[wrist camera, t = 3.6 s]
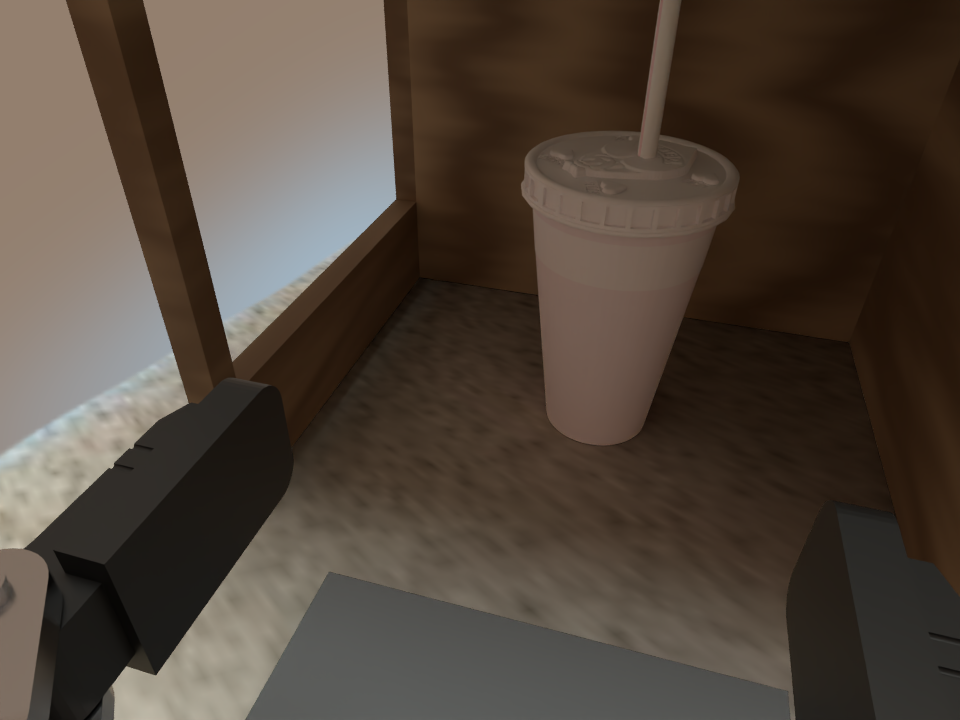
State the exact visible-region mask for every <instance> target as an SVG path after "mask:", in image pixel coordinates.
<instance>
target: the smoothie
mask: <svg viewBox="0 0 960 720" xmlns="http://www.w3.org/2000/svg"><path fill="white" fill-rule="evenodd" d="M680 7H681V0H660V3H659V10H658V17H657V24H656V31H655V37H654V44H653V51H652V58H651V65H650V72H649V78H648V85H647V92H646V99H645V106H644V113H643V120H642V126H641V132H634V131H591V132H580V133H574V134H567V135H563V136H559V137H555V138H552V139H549V140H547V141H544V142H542V143H540V144H539V145H537V146H536V147H534V148H533V149H531V150H530V151H529V153H528V154H527V155H526V157H525V173H524V180H523V182H522V183H521V189H522V196H523V197H524V199H525V200H526V201H527V202H528V204H529V205H530V206H531V207H532V208H533V223H534V243H535V253H536V267H537V282H538V296H539V311H540V325H541V340H542V354H543V369H544V383H545V398H546V412H547V416H548V419H549V421H550V422H551V424H552V425H553V426H554V427H555V428H556V429H557V430H558V431H559V432H560V433H562V434H563V435H565V436H567V437H569V438H571V439H573V440H575V441H578V442H581V443H585V444H591V445H614V444H619V443H622V442H625V441H628V440H630V439H631V438H633V437H634V436H636V435H637V434H638V433H639V432H640V430H641V429H642V427H643V425H644V422H645V419H646V417H647V414H648V411H649V409H650V406H651V403H652V400H653V398H654V395H655V392H656V390H657V387H658V384H659V381H660V379H661V376H662V373H663V371H664V368H665V365H666V363H667V360H668V357H669V354H670V352H671V349H672V346H673V344H674V341H675V338H676V335H677V333H678V330H679V327H680V325H681V322H682V319H683V317H684V314H685V311H686V308H687V306H688V303H689V300H690V298H691V295H692V292H693V290H694V287H695V284H696V281H697V279H698V276H699V273H700V271H701V268H702V266H703V264H704V261H705V258H706V255H707V252H708V249H709V246H710V244H711V241H712V238H713V235H714V232H715V229H716V226H717V225H719V224H720V223H722V222H724V221H726V220H727V219H728V218H729V216H730V215H731V213H732V212H733V211H734V209H735V196H736V191H737V187H738V183H739V178H740V177H739V172H738V170H737V169H736V167H735V166H734V164H733V163H732V162H730V161H729V160H728V159H727V158H726V157H724V156H723V155H721V154H719V153H718V152H716V151H714V150H712V149H709V148H707V147H705V146H702V145H700V144H696V143H693V142H690V141H687V140H683V139H679V138H674V137H670V136H665V135H660V130H661V124H662V118H663V111H664V105H665V99H666V93H667V87H668V81H669V74H670V68H671V62H672V56H673V50H674V44H675V37H676V31H677V25H678V19H679V13H680Z"/></svg>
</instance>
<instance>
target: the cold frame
mask: <svg viewBox="0 0 960 720" xmlns="http://www.w3.org/2000/svg"><path fill="white" fill-rule="evenodd" d="M66 2H67V5H68V8H69V12H70V15H71V18H72V21H73V25H74V28H75V31H76V34H77V38H78V41H79V44H80V48H81V51H82V54H83V57H84V61H85V64H86V67H87V71H88V74H89V77H90V81H91V84H92V87H93V90H94V94H95V97H96V100H97V103H98V107H99V110H100V113H101V116H102V120H103V123H104V126H105V129H106V133H107V136H108V140H109V143H110V146H111V149H112V153H113V156H114V159H115V162H116V166H117V169H118V172H119V175H120V179H121V182H122V185H123V189H124V192H125V195H126V199H127V201H128V205H129V208H130V212H131V215H132V218H133V221H134V224H135V228H136V231H137V234H138V238H139V241H140V244H141V248H142V251H143V254H144V258H145V261H146V264H147V267H148V271H149V274H150V277H151V280H152V283H153V287H154V290H155V293H156V296H157V300H158V303H159V307H160V310H161V313H162V317H163V320H164V323H165V326H166V330H167V333H168V336H169V339H170V342H171V346H172V349H173V353H174V356H175V359H176V362H177V366H178V369H179V372H180V376H181V379H182V382H183V385H184V389H185V392H186V395H187V398H188V402H189V403H191V402H192V403H196V404H199V403H200V402H201V401H202V400H203V399H204V398H205V397H206V396H207V395H208V394H209V393H210V392H211V391H212V390H213V389H214V388H215V387H216V386H217V385H218V384H219V383H220V382H221V381H222V380H224V379H226V378H237V379H242V380H247V381H252V382H257V383H262V384H267V385H272V386H275V387H276V388H277V389H278V390H279V391H280V394H281V397H282V402H283V407H284V412H285V417H286V423H287V428H288V433H289V438H290V444H291V448H292V446H293V445H294V444H295V442H296V441H297V440H298V438H299V437H300V436H301V434H302V433H303V432H304V430H305V429H306V428H307V426H308V425H309V424H310V422H311V421H312V420H313V418H314V417H315V416H316V414H317V413H318V412H319V410H320V409H321V408H322V406H323V405H324V404H325V402H326V401H327V400H328V398H329V397H330V396H331V394H332V393H333V392H334V390H335V389H336V388H337V387H338V385H339V384H340V383H341V381H342V380H343V379H344V377H345V376H346V375H347V373H348V372H349V371H350V369H351V368H352V367H353V365H354V364H355V363H356V361H357V360H358V359H359V357H360V356H361V355H362V353H363V352H364V351H365V349H366V348H367V347H368V345H369V344H370V343H371V341H372V340H373V339H374V337H375V336H376V335H377V333H378V332H379V331H380V329H381V328H382V327H383V325H384V324H385V323H386V321H387V320H388V319H389V317H390V316H391V315H392V313H393V312H394V311H395V309H396V308H397V307H398V305H399V304H400V303H401V301H402V300H403V299H404V297H405V296H406V295H407V294H408V292H409V291H410V290H411V288H412V287H413V286H414V284H415V283H416V282H417V280H418V279H419V278H420V277H422V278H429V279H435V280H442V281H449V282H455V283H462V284H468V285H475V286H481V287H488V288H495V289H501V290H508V291H514V292H521V293H528V294H534V295H538V282H537V267H536V253H535V243H534V223H533V208H532V207H531V206H530V205H529V204H528V202H527V201H526V200H525V199H524V197H523V196H522V189H521V183H522V182H523V180H524V173H525V157H526V155H527V154H528V153H529V151H530V150H531V149H533V148H534V147H536V146H537V145H539V144H540V143H542V142H544V141H547V140H549V139H552V138H555V137H559V136H563V135H567V134H574V133H580V132H591V131H634V132H641V126H642V120H643V113H644V106H645V99H646V92H647V85H648V78H649V72H650V65H651V58H652V51H653V44H654V37H655V31H656V24H657V17H658V10H659V3H660V0H384V13H385V29H386V44H387V60H388V75H389V91H390V106H391V122H392V138H393V153H394V169H395V185H396V200H395V201H394V202H393V203H392V204H391V205H390V206H389V207H388V208H387V209H386V210H385V211H384V212H383V213H382V214H381V215H380V216H379V217H378V218H377V219H376V220H375V221H374V222H373V223H372V224H371V225H370V226H369V227H368V228H367V229H366V230H365V231H364V232H363V233H362V234H361V235H360V236H359V237H358V238H357V239H356V240H355V241H354V242H353V243H352V244H351V245H350V246H349V247H348V248H347V249H346V250H345V251H344V252H343V253H342V254H341V255H340V256H339V257H338V258H337V259H336V260H335V261H334V262H333V263H332V264H331V265H330V266H329V267H328V268H327V269H326V270H325V271H324V272H323V273H322V274H321V275H320V276H319V277H318V278H317V279H316V280H315V281H314V282H313V283H312V284H311V285H310V286H309V287H308V288H307V289H306V290H305V291H304V292H303V293H302V294H301V295H300V296H299V297H298V298H297V299H296V300H295V301H294V302H293V303H292V304H291V305H290V306H289V307H288V308H287V309H286V310H285V311H284V312H283V313H282V314H281V315H280V316H279V317H277V318H276V319H275V320H274V321H273V322H272V323H271V324H270V325H269V326H268V327H267V328H266V329H265V330H264V331H263V332H262V333H261V334H260V335H259V336H258V337H257V338H256V339H255V340H254V341H253V342H252V343H251V344H250V345H249V346H248V347H247V348H246V349H245V350H244V351H243V352H242V353H241V354H240V355H239V356H238V357H237V358H236V359H235V360H234V361H233V362H232V360H231V355H230V351H229V347H228V343H227V339H226V335H225V331H224V327H223V323H222V319H221V315H220V312H219V307H218V303H217V299H216V295H215V291H214V287H213V283H212V278H211V275H210V270H209V267H208V262H207V258H206V254H205V250H204V246H203V242H202V238H201V234H200V230H199V226H198V222H197V218H196V214H195V210H194V206H193V201H192V198H191V193H190V189H189V185H188V181H187V177H186V173H185V169H184V165H183V161H182V157H181V153H180V149H179V145H178V141H177V137H176V133H175V129H174V124H173V121H172V117H171V112H170V108H169V104H168V100H167V96H166V92H165V88H164V84H163V80H162V76H161V72H160V68H159V64H158V60H157V56H156V52H155V48H154V43H153V39H152V35H151V31H150V27H149V24H148V19H147V15H146V11H145V7H144V3H143V0H66ZM660 135H665V136H670V137H674V138H679V139H683V140H687V141H690V142H693V143H696V144H700V145H702V146H705V147H707V148H709V149H712V150H714V151H716V152H718V153H719V154H721V155H723V156H724V157H726V158H727V159H728V160H729V161H730V162H732V163H733V164H734V166H735V167H736V169H737V170H738V172H739V177H740V178H739V183H738V187H737V191H736V196H735V209H734V211H733V212H732V213H731V215H730V216H729V218H728V219H727V220H726V221H724V222H722V223H720V224H719V225H717V226H716V229H715V232H714V235H713V238H712V241H711V244H710V246H709V249H708V252H707V255H706V258H705V261H704V264H703V266H702V268H701V271H700V273H699V276H698V279H697V281H696V284H695V287H694V290H693V292H692V295H691V298H690V300H689V303H688V306H687V308H686V311H685V314H684V317H686V318H692V319H699V320H706V321H712V322H719V323H725V324H732V325H739V326H745V327H752V328H758V329H765V330H771V331H778V332H785V333H791V334H798V335H804V336H811V337H818V338H824V339H831V340H837V341H844V342H849V344H850V348H851V351H852V355H853V359H854V362H855V366H856V370H857V374H858V377H859V381H860V385H861V388H862V392H863V396H864V399H865V403H866V407H867V411H868V414H869V418H870V422H871V425H872V429H873V433H874V436H875V440H876V444H877V448H878V451H879V455H880V459H881V462H882V466H883V470H884V473H885V477H886V481H887V485H888V488H889V492H890V496H891V499H892V503H893V507H894V510H895V514H896V518H897V522H898V525H899V529H900V532H901V536H902V539H903V543H904V546H905V550H906V554H907V557H908V558H911V559H916V560H920V561H925V562H930V563H934V565H935V566H936V567H937V568H938V570H939V571H940V572H941V574H942V575H943V576H944V577H945V579H946V580H947V581H948V582H949V584H950V585H951V586H952V588H953V589H954V590H955V591H956V593H957V594H958V595H959V596H960V0H681V7H680V13H679V19H678V25H677V31H676V37H675V44H674V50H673V56H672V62H671V68H670V74H669V81H668V87H667V93H666V99H665V105H664V111H663V118H662V124H661V130H660Z"/></svg>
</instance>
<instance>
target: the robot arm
mask: <svg viewBox="0 0 960 720" xmlns="http://www.w3.org/2000/svg"><path fill="white" fill-rule="evenodd" d="M292 470H293V454H292V449H291V444H290V438H289V433H288V428H287V423H286V417H285V412H284V407H283V402H282V397H281V394H280V391H279V390H278V389H277V388H276V387H275V386H272V385H267V384H262V383H257V382H252V381H247V380H242V379H237V378H226V379H224V380H222V381H221V382H220V383H219V384H218V385H217V386H216V387H215V388H214V389H213V390H212V391H211V392H210V393H209V394H208V395H207V396H206V397H205V398H204V399H203V400H202V401H201V402H200V403H199V404H196V403H192V402H191V403H189V404H187V405H186V406H184V407H182V408H180V409H178V410H176V411H175V412H173V413H171V414H169V415H167V416H166V417H164V418H162V419H160V420H158V421H157V422H156V423H155V424H154V425H153V426H152V427H151V428H150V429H149V430H148V431H147V432H146V433H145V434H144V435H143V436H142V437H141V438H140V439H139V440H138V441H137V442H136V443H135V444H134V448H133V449H130V448H129V449H128V450H127V451H126V452H125V453H124V454H123V455H122V456H121V457H120V458H119V459H118V460H117V461H116V462H115V463H114V467H113V468H112V469H110V468H109V469H107V470H106V471H105V472H104V473H103V474H102V475H101V476H100V477H99V478H98V479H97V480H96V481H95V482H94V483H93V484H92V485H91V486H90V487H89V488H88V489H87V490H86V491H85V492H84V493H83V494H81V495H80V496H79V497H78V498H77V499H76V500H75V501H74V502H73V503H72V504H71V505H70V506H69V507H68V508H67V509H66V510H65V511H64V512H63V513H62V514H61V515H60V516H59V517H58V518H57V519H55V520H54V521H53V522H52V523H51V524H50V525H49V526H48V527H47V528H46V529H45V530H44V531H43V532H42V533H41V534H40V535H39V536H38V537H37V538H36V539H35V540H34V541H32V542H31V543H30V544H29V545H28V546H27V547H26V548H24V549H14V548H13V549H2V550H0V720H114V702H115V697H114V690H113V687H112V684H113V683H114V681H115V680H116V679H117V677H118V676H119V675H120V674H121V672H122V671H123V670H124V668H125V667H126V666H128V667H131V668H134V669H137V670H140V671H144V672H147V673H150V674H153V675H157V673H158V672H159V670H160V669H161V668H162V666H163V665H164V663H165V662H166V660H167V659H168V658H169V656H170V655H171V653H172V652H173V651H174V649H175V648H176V646H177V645H178V644H179V642H180V641H181V639H182V638H183V637H184V635H185V634H186V632H187V631H188V629H189V628H190V627H191V625H192V624H193V622H194V621H195V620H196V618H197V617H198V615H199V614H200V613H201V611H202V610H203V608H204V607H205V605H206V604H207V603H208V601H209V600H210V598H211V597H212V596H213V594H214V593H215V591H216V590H217V589H218V587H219V586H220V584H221V583H222V582H223V580H224V579H225V577H226V576H227V574H228V573H229V572H230V570H231V569H232V567H233V566H234V565H235V563H236V562H237V560H238V559H239V558H240V556H241V555H242V553H243V552H244V550H245V549H246V548H247V546H248V545H249V543H250V542H251V541H252V539H253V538H254V536H255V535H256V534H257V532H258V531H259V529H260V528H261V526H262V525H263V524H264V522H265V521H266V519H267V518H268V517H269V515H270V514H271V512H272V511H273V510H274V508H275V507H276V505H277V504H278V503H279V501H280V500H281V498H282V497H283V495H284V494H285V492H286V490H287V488H288V485H289V482H290V479H291V476H292ZM786 618H787V630H788V640H789V651H790V662H791V673H792V684H793V695H794V705H795V716H796V720H960V596H959V595H958V594H957V593H956V591H955V590H954V589H953V588H952V586H951V585H950V584H949V582H948V581H947V580H946V579H945V577H944V576H943V575H942V574H941V572H940V571H939V570H938V568H937V567H936V566H935V565H934V563H930V562H925V561H920V560H916V559H911V558H908V557H907V554H906V550H905V546H904V543H903V539H902V536H901V532H900V529H899V525H898V522H897V520H896V518H895V516H894V515H893V514H892V513H890V512H886V511H881V510H876V509H871V508H867V507H862V506H857V505H852V504H847V503H842V502H837V501H832V500H828V501H826V502H825V503H824V504H823V506H822V507H821V509H820V511H819V514H818V516H817V518H816V520H815V523H814V525H813V527H812V529H811V532H810V534H809V536H808V538H807V541H806V543H805V545H804V547H803V550H802V552H801V554H800V556H799V559H798V561H797V563H796V566H795V568H794V570H793V573H792V576H791V579H790V583H789V588H788V594H787V605H786Z"/></svg>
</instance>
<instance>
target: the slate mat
mask: <svg viewBox="0 0 960 720" xmlns="http://www.w3.org/2000/svg"><path fill="white" fill-rule="evenodd" d="M246 720H790V710H789V697H788V691H785V690H781V689H777V688H774V687H770V686H766V685H762V684H758V683H754V682H751V681H747V680H743V679H739V678H735V677H731V676H728V675H724V674H720V673H716V672H712V671H708V670H705V669H701V668H697V667H693V666H689V665H685V664H682V663H678V662H674V661H670V660H666V659H662V658H659V657H655V656H651V655H647V654H643V653H639V652H636V651H632V650H628V649H624V648H620V647H616V646H613V645H609V644H605V643H601V642H597V641H593V640H590V639H586V638H582V637H578V636H574V635H570V634H567V633H563V632H559V631H555V630H551V629H547V628H543V627H540V626H536V625H532V624H528V623H524V622H520V621H517V620H513V619H509V618H505V617H501V616H497V615H494V614H490V613H486V612H482V611H478V610H474V609H471V608H467V607H463V606H459V605H455V604H451V603H448V602H444V601H440V600H436V599H432V598H428V597H425V596H421V595H417V594H413V593H409V592H405V591H402V590H398V589H394V588H390V587H386V586H382V585H379V584H375V583H371V582H367V581H363V580H359V579H356V578H352V577H348V576H344V575H340V574H336V573H333V572H329V573H328V574H327V576H326V578H325V580H324V582H323V583H322V585H321V587H320V589H319V590H318V592H317V594H316V596H315V597H314V599H313V601H312V603H311V605H310V606H309V608H308V610H307V612H306V613H305V615H304V617H303V619H302V621H301V622H300V624H299V626H298V628H297V629H296V631H295V633H294V635H293V636H292V638H291V640H290V642H289V644H288V645H287V647H286V649H285V651H284V652H283V654H282V656H281V658H280V659H279V661H278V663H277V665H276V667H275V668H274V670H273V672H272V674H271V675H270V677H269V679H268V681H267V682H266V684H265V686H264V688H263V690H262V691H261V693H260V695H259V697H258V698H257V700H256V702H255V704H254V705H253V707H252V709H251V711H250V713H249V714H248V716H247V718H246Z"/></svg>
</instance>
